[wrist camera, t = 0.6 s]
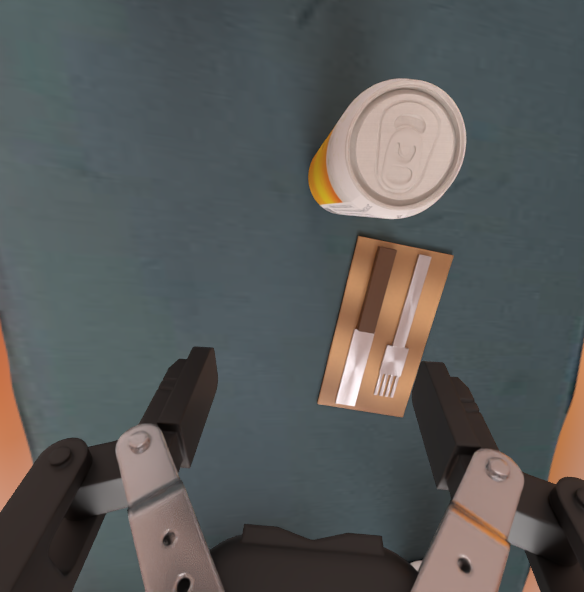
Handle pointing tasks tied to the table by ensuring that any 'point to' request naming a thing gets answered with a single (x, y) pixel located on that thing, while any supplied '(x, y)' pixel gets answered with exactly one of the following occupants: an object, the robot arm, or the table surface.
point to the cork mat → (384, 325)
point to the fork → (402, 330)
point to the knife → (365, 327)
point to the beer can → (390, 152)
